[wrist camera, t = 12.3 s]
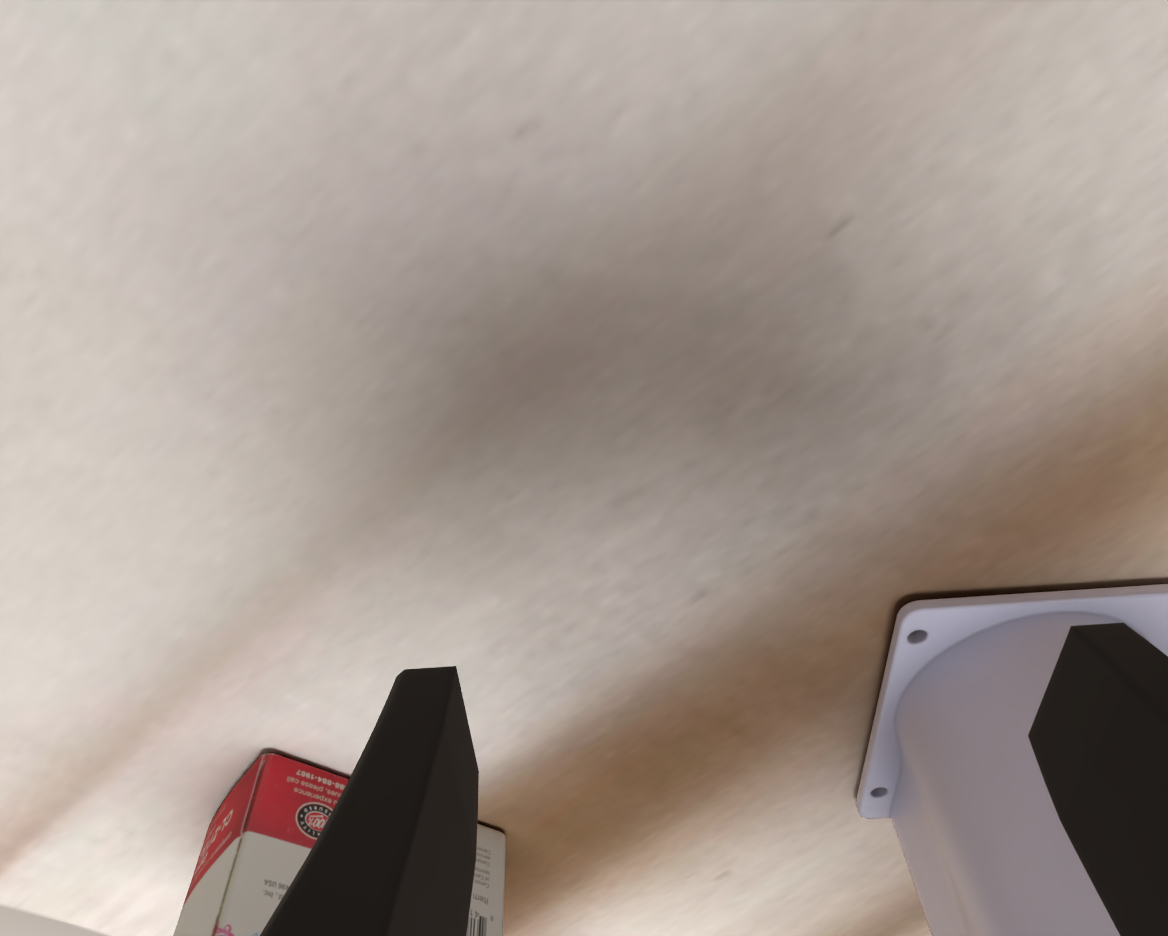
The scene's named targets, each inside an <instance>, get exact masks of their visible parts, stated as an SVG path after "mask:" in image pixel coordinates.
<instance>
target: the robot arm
mask: <svg viewBox="0 0 1168 936" xmlns="http://www.w3.org/2000/svg"><path fill="white" fill-rule="evenodd" d="M916 630H917V631H916ZM913 631H916V632H913ZM478 774H479V771H478V766H477V762H476V757H475V753H474V748H473V743H472V739H471V734H470V729H469V725H468V720H467V715H466V711H465V706H464V701H463V697H462V692H461V687H460V683H459V678H458V673H457V669H456V666H452V667H437V668H422V669H406V670H404V671H402V672H401V673H400V674H399V675H398V676H397V677H396V679H395V682H394V684H393V687H392V689H391V692H390V694H389V696H388V699H387V701H386V703H385V706H384V708H383V710H382V712H381V714H380V717H379V719H378V721H377V723H376V726H375V728H374V730H373V732H372V734H371V736H370V738H369V740H368V742H367V745H366V747H365V749H364V751H363V753H362V755H361V757H360V759H359V761H358V763H357V765H356V767H355V769H354V771H353V773H352V775H351V777H350V779H349V781H348V783H347V785H346V786H345V788H344V790H343V792H342V794H341V796H340V798H339V799H338V801H337V803H336V805H335V807H334V809H333V811H332V812H331V814H330V816H329V818H328V820H327V822H326V824H325V825H324V827H323V829H322V831H321V833H320V835H319V836H318V838H317V840H316V842H315V844H314V846H313V847H312V849H311V851H310V853H309V854H308V856H307V858H306V860H305V861H304V863H303V865H302V866H301V868H300V870H299V871H298V873H297V875H296V876H295V878H294V880H293V881H292V883H291V885H290V886H289V888H288V890H287V891H286V893H285V895H284V896H283V898H282V900H281V901H280V903H279V904H278V906H277V908H276V909H275V911H274V913H273V914H272V916H271V918H270V919H269V921H268V923H267V924H266V926H265V928H264V929H263V931H262V933H261V934H260V936H466V935H467V927H468V919H469V911H470V903H471V896H472V888H473V880H474V872H475V863H476V849H477V818H478ZM856 806H857V809H858V812H859V814H860V815H861V816H862V817H865V818H867V819H877V818H891V819H892V822H893V825H894V828H895V831H896V834H897V836H898V839H899V842H900V845H901V848H902V851H903V854H904V856H905V859H906V862H907V865H908V868H909V871H910V874H911V876H912V879H913V882H914V885H915V888H916V891H917V894H918V896H919V899H920V902H921V905H922V908H923V911H924V914H925V916H926V919H927V922H928V925H929V928H930V931H931V934H932V936H1168V584H1159V585H1143V586H1128V587H1113V588H1098V589H1083V590H1067V591H1052V592H1037V593H1022V594H1007V595H991V596H976V597H961V598H946V599H931V600H917V601H912V602H910V603H908V604H906V605H904V606H903V607H902V608H901V609H900V610H899V612H898V614H897V618H896V622H895V627H894V631H893V636H892V641H891V645H890V650H889V654H888V659H887V663H886V668H885V672H884V677H883V681H882V686H881V690H880V695H879V699H878V704H877V708H876V713H875V717H874V722H873V726H872V731H871V735H870V740H869V745H868V749H867V754H866V758H865V763H864V767H863V772H862V776H861V781H860V785H859V790H858V794H857V799H856Z"/></svg>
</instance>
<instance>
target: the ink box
mask: <svg viewBox="0 0 1168 936" xmlns="http://www.w3.org/2000/svg"><path fill="white" fill-rule="evenodd" d="M348 781H349V779H346V778H344V777H341V776H338V775H335V774H332V773H330V772H327V771H324V770H321V769H318V768H315V767H312V766H309V765H307V764H304V763H301V762H298V761H295V760H291V759H288V758H285V757H283V756H280V755H277V754H274V753H266V754H262V755H260V756H259V758H258V759H257V761H256V762H255V763H254V764H253V765H252V766H251V768H250V769H249V770H248V771H247V772H246V773H245V774H244V776H243V777H242V778H241V780H240V781H239V782H238V783H237V784H236V785H235V787H234V788H233V789H232V791H231V792H230V793H229V795H228V796H227V798H226V799H225V800H224V802H223V803H222V805H221V806H220V808H219V809H218V811H217V813H216V814H215V816H214V817H213V819H212V821H211V823H210V825H209V828H208V831H207V834H206V837H205V840H204V843H203V846H202V850H201V853H200V856H199V859H198V862H197V865H196V868H195V871H194V875H193V878H192V881H191V884H190V887H189V890H188V893H187V896H186V899H185V902H184V905H183V908H182V911H181V914H180V917H179V920H178V924H177V926H176V929H175V932H174V935H173V936H260V934H261V933H262V931H263V929H264V928H265V926H266V924H267V923H268V921H269V919H270V918H271V916H272V914H273V913H274V911H275V909H276V908H277V906H278V904H279V903H280V901H281V900H282V898H283V896H284V895H285V893H286V891H287V890H288V888H289V886H290V885H291V883H292V881H293V880H294V878H295V876H296V875H297V873H298V871H299V870H300V868H301V866H302V865H303V863H304V861H305V860H306V858H307V856H308V854H309V853H310V851H311V849H312V847H313V846H314V844H315V842H316V840H317V838H318V836H319V835H320V833H321V831H322V829H323V827H324V825H325V824H326V822H327V820H328V818H329V816H330V814H331V812H332V811H333V809H334V807H335V805H336V803H337V801H338V799H339V798H340V796H341V794H342V792H343V790H344V788H345V786H346V785H347V783H348ZM505 848H506V836H505V835H504V834H503V833H502V832H500V831H497V830H494V829H491V828H489V827H486V826H483V825H480V824H477V849H476V863H475V872H474V880H473V888H472V896H471V903H470V911H469V919H468V927H467V935H466V936H503V916H504V878H505Z"/></svg>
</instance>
